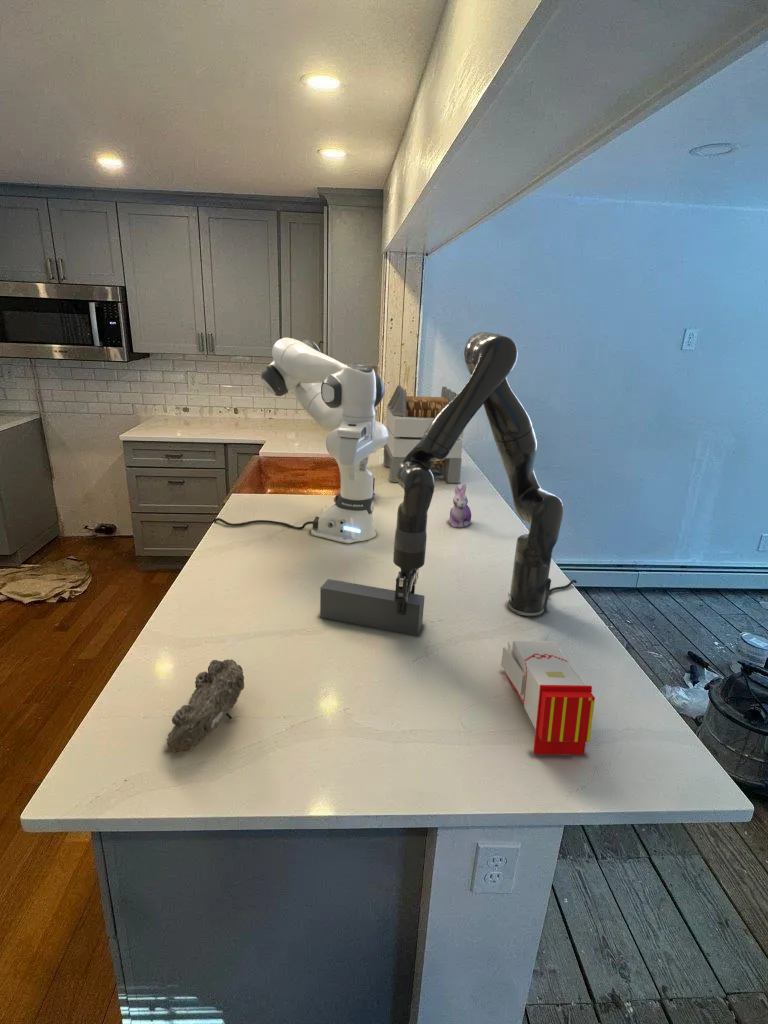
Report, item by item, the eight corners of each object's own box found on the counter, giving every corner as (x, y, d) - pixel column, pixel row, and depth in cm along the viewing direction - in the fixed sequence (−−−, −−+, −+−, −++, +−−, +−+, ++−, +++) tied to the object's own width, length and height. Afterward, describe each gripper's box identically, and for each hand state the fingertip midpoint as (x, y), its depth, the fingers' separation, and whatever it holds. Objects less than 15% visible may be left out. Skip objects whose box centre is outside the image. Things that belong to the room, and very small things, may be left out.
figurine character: (374, 507, 229) (374, 492, 242) (375, 490, 225) (375, 475, 239) (358, 507, 228) (358, 491, 242) (358, 490, 225) (359, 475, 238)
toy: (549, 624, 127) (604, 693, 98) (544, 678, 130) (596, 762, 100) (496, 622, 127) (535, 692, 97) (491, 677, 129) (528, 761, 100)
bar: (320, 617, 144) (320, 587, 142) (327, 607, 149) (327, 578, 146) (417, 635, 138) (419, 605, 135) (422, 625, 143) (424, 595, 140)
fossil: (192, 660, 117) (244, 628, 112) (224, 691, 120) (276, 661, 115) (142, 746, 98) (202, 712, 93) (182, 779, 101) (242, 748, 96)
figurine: (457, 529, 205) (460, 490, 200) (441, 520, 214) (444, 482, 209) (478, 526, 210) (482, 487, 205) (462, 517, 218) (465, 480, 213)
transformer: (382, 463, 289) (386, 382, 275) (445, 464, 293) (451, 384, 279) (390, 482, 257) (394, 392, 243) (460, 483, 261) (468, 394, 247)
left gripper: (359, 418, 163) (358, 465, 168) (334, 431, 144) (334, 483, 149) (380, 420, 161) (378, 467, 166) (358, 433, 143) (357, 486, 147)
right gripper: (419, 559, 126) (413, 622, 132) (431, 537, 139) (426, 595, 145) (386, 554, 128) (382, 617, 134) (402, 532, 141) (397, 590, 147)
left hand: (357, 475), depth 157 cm, fingers open, 8 cm apart
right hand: (405, 605), depth 139 cm, fingers open, 8 cm apart
